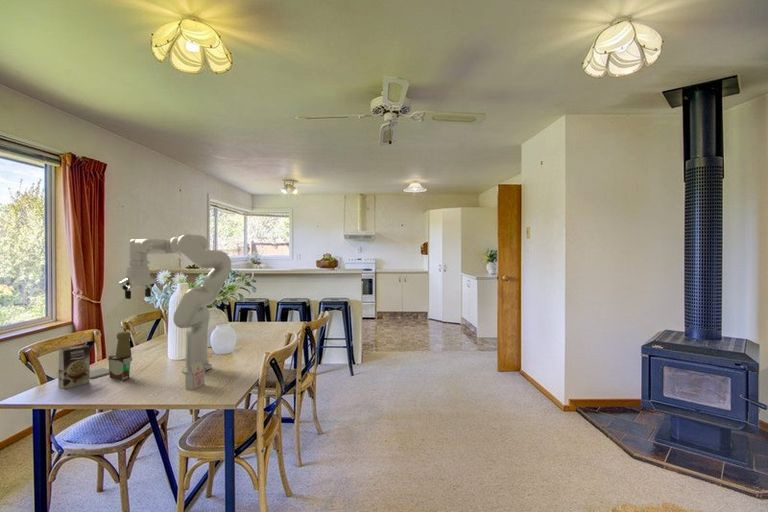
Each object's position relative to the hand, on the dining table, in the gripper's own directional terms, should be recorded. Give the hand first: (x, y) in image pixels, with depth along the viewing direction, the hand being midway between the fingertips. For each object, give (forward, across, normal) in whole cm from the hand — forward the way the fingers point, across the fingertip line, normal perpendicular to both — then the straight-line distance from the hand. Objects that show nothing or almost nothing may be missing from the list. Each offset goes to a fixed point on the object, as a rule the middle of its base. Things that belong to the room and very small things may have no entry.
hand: (138, 297), depth 183 cm
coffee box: (+34, +28, +2) cm, 44 cm away
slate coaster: (+34, +16, -4) cm, 38 cm away
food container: (+34, +14, +12) cm, 39 cm away
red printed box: (+35, +8, +51) cm, 62 cm away
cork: (+24, +14, +12) cm, 31 cm away
